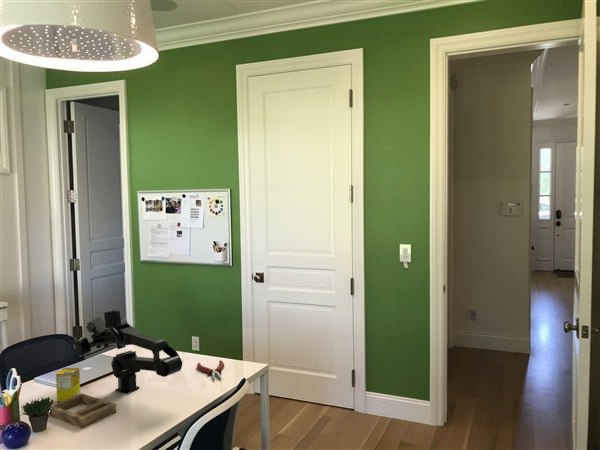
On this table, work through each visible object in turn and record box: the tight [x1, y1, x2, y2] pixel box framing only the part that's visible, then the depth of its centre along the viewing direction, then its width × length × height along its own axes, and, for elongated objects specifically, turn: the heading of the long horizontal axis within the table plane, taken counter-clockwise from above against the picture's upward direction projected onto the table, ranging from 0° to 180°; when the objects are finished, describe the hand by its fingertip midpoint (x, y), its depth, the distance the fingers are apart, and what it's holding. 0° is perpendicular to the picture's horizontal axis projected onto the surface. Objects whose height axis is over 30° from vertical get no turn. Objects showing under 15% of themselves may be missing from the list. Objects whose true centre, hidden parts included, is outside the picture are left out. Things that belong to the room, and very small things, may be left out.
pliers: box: [196, 360, 225, 381], centre depth 202 cm, size 12×20×3 cm, turn 20°
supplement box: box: [55, 367, 81, 403], centre depth 174 cm, size 6×6×11 cm
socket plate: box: [48, 393, 117, 429], centre depth 163 cm, size 18×13×3 cm
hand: (82, 341), depth 194 cm, fingers open, 9 cm apart
